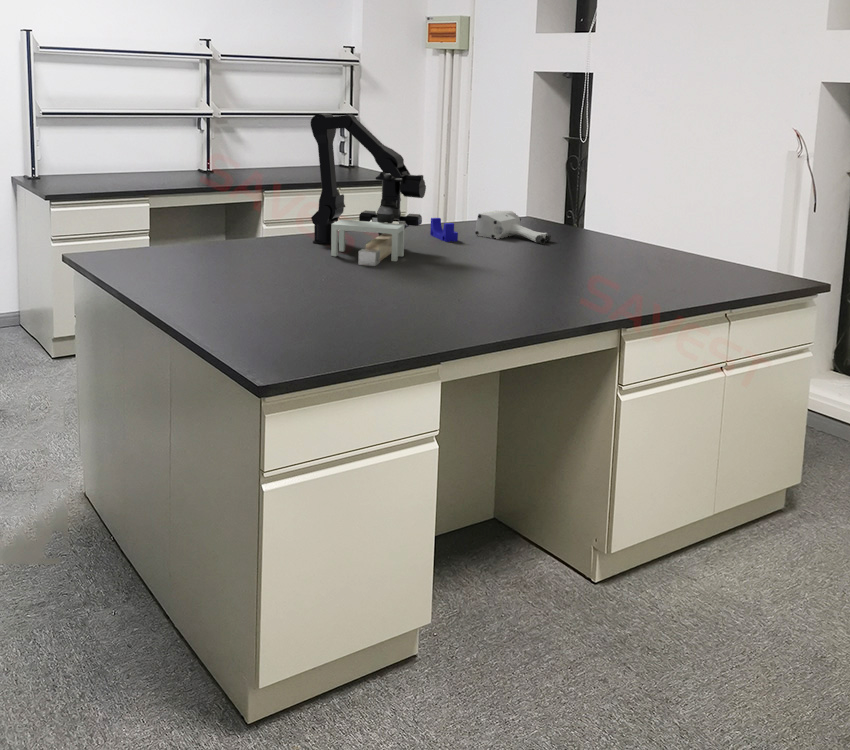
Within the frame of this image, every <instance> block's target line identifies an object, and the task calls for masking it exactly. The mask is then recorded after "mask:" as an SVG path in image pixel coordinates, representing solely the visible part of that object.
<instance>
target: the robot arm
mask: <svg viewBox="0 0 850 750" xmlns="http://www.w3.org/2000/svg"><path fill="white" fill-rule="evenodd" d="M310 128H311V132H312V136H313V137H314V139H315V142H316V144H317V149H318V150H317V152H318V161H319V163H318V164H319V172H320V182H321V185H320V186H321V193H320V196H319V199H318V210H317V211H316V212H315V213H314V214H313V215H312V216H311V217H310V218H311V222H312V224H313V226H314V227H313V228H314V235H313V236H314V238H313V239H314V240H312V243H316V244H326V245H331V224H333V223H335V222H337V221H339V217H340V216H341V215H342V214H344V211H345V209H344V208H346V204H345V195H344V194H340V193H339V190H338V185H337V176H336V174H337V173H336V164H335V152H334V141H335V137H336V134H337V129H345V130H346V131H347V132H348V133H349V134H351V136H353V138H355V140H357V142H358V143H360V144H361V145H362V146H363V147H364V148H365V149H366V150H367V151H368V152H369V153H370V154H371V156H373V158H374V161H375V163H376V165H377V166H378V167H379V168H380V170H381V172H379V174H378V175H377V176H375V178H374V179H375V181H376V180H377V181H381V199H380V205H379V208H378V209H377V211H376V210H363V211H361V212H360V213H359V216H358V217H359V218H358V221H367V222H380V223H393V222H398V224H405V227H404V231H406V230H405V229H406V228H408V227H409V226H412V227H413V226H414V227H419V226H420V225H422V223H423V217H422V215H421V214H420V213H419V214H418V213H409V214H407V215H402V213H401V212H402V211H401V201H402V198H401V195H403V197H404V198H417V199H423V198H424V197H425V194H426V189H427V185H426V182H425V180H424V179H425V178H424V175H423V174H417V175H416V174H411V173H410V171H409V169H408V168H407V166H406V165H405V164H404V163H405V161H404V157H403V156H402V155H401V154H400V153H398V152H397V151H395V150H394V149H393V148H390V147H389V146H387V145H384V143H382V142H381V141H380V140H379V139H378V138H377V137H376V136H375V135H374V134H373V133H372V131H371V132H370V130H369V129H368V128H367V127H365V125H364V124H363V123H362V122H361V121H359V120H358V118H357V117H356V116H355V115H354V114H344V115H333V114H331V113H329V112H323V113H317V114H314V115H313V116H312V118H311V119H310ZM377 234H378V236H380V235H381V234H383V233H377Z"/></svg>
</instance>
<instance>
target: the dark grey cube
mask: <svg viewBox="0 0 850 750" xmlns="http://www.w3.org/2000/svg"><path fill="white" fill-rule="evenodd" d="M380 263H381V261H380V249H367V248H366V247H364V248H361V249H360V250H358V265H360V266H367V267H368V266H369V267H376V266H378V265H379V264H380Z"/></svg>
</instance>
